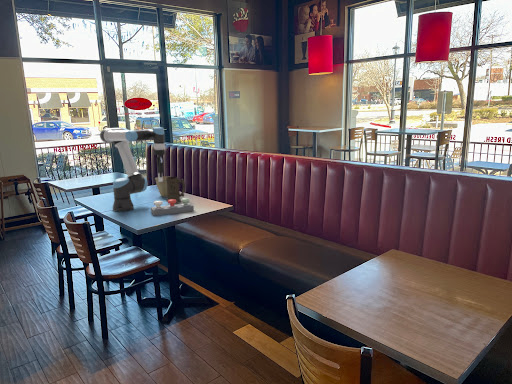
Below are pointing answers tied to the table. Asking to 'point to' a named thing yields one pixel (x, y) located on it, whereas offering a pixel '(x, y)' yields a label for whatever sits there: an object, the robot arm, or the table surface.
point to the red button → (171, 202)
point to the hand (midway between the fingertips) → (160, 181)
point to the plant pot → (162, 186)
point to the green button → (185, 200)
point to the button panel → (172, 209)
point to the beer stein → (174, 188)
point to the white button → (158, 203)
